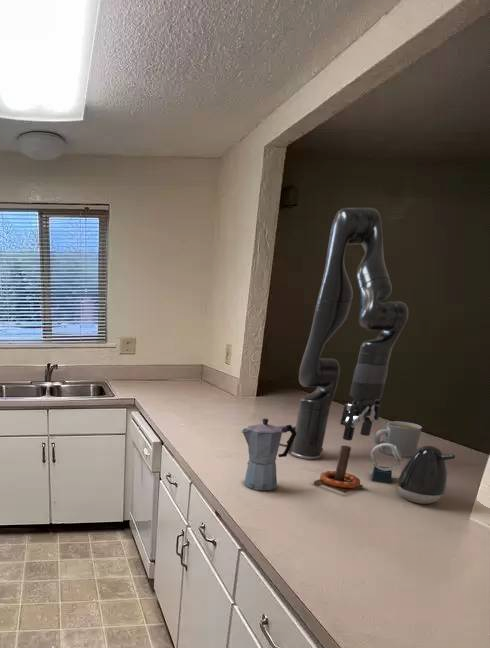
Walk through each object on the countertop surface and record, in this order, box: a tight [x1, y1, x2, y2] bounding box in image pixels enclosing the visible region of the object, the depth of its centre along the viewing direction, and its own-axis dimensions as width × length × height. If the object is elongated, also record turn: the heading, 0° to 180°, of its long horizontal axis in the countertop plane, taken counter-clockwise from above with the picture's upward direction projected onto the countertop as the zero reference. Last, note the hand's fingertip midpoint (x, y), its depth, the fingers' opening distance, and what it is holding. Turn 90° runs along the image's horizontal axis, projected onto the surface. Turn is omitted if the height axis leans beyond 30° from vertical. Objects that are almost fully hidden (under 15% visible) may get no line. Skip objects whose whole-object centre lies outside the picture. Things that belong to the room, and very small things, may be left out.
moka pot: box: [241, 418, 297, 491], centre depth 123 cm, size 10×15×20 cm, turn 95°
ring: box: [319, 470, 361, 488], centre depth 125 cm, size 10×10×2 cm
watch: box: [370, 443, 403, 484], centre depth 129 cm, size 6×8×11 cm
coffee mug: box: [374, 421, 423, 458], centre depth 153 cm, size 13×10×10 cm
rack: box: [313, 445, 364, 494], centre depth 123 cm, size 9×9×12 cm
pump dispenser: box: [397, 445, 456, 505], centre depth 114 cm, size 10×10×15 cm
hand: (356, 437), depth 122 cm, fingers open, 8 cm apart
